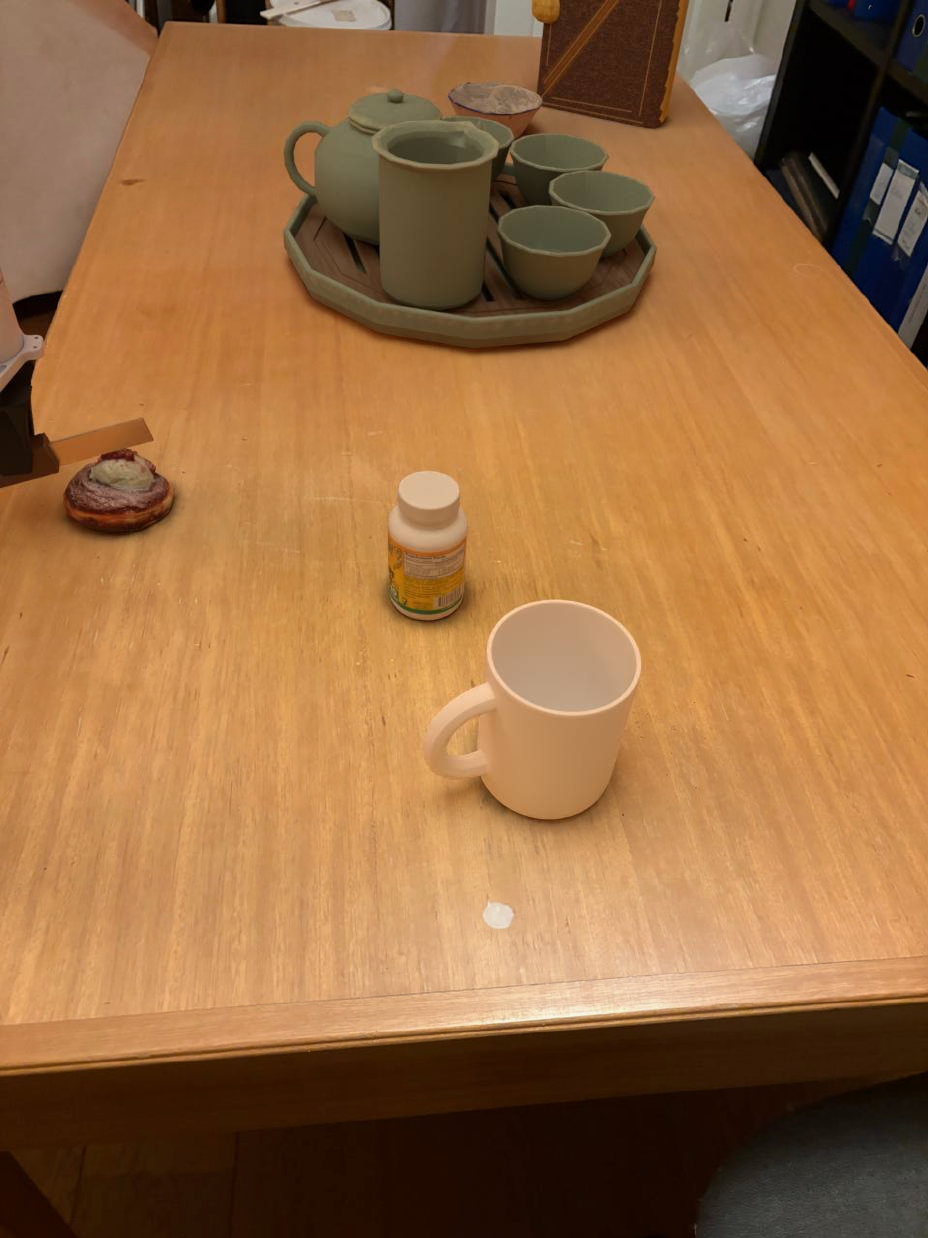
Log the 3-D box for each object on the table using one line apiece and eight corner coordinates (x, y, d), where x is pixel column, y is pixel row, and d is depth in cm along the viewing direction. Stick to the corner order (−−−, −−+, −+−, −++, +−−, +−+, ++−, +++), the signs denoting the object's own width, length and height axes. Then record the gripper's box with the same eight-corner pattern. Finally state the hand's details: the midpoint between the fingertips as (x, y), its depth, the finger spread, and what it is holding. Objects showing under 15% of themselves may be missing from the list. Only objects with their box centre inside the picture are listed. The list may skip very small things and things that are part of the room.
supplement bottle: (457, 627, 64) (463, 521, 57) (381, 616, 65) (378, 510, 58) (468, 575, 68) (476, 469, 61) (396, 565, 68) (396, 458, 62)
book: (671, 115, 140) (712, -91, 122) (655, 132, 135) (694, -82, 117) (536, 87, 146) (556, -114, 128) (515, 102, 140) (532, -105, 122)
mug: (445, 862, 52) (452, 754, 44) (398, 747, 57) (398, 633, 50) (634, 801, 55) (670, 691, 48) (574, 698, 61) (598, 585, 53)
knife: (-9, 491, 67) (-27, 465, 65) (-7, 476, 68) (-25, 450, 66) (154, 447, 67) (140, 420, 66) (153, 432, 69) (140, 406, 67)
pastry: (186, 481, 74) (175, 428, 70) (156, 543, 69) (142, 490, 65) (87, 471, 74) (72, 418, 71) (50, 533, 69) (30, 479, 65)
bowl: (430, 135, 129) (431, 97, 125) (472, 110, 137) (474, 73, 134) (515, 156, 125) (518, 117, 122) (552, 128, 133) (556, 91, 130)
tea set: (708, 334, 94) (752, 164, 83) (314, 369, 86) (300, 187, 74) (579, 179, 121) (598, 34, 109) (268, 195, 112) (252, 40, 101)
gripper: (13, 337, 53) (73, 520, 63) (30, 227, 63) (80, 401, 72) (-123, 347, 51) (-40, 532, 61) (-84, 233, 61) (-17, 409, 71)
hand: (18, 462), depth 67 cm, fingers closed on knife, 2 cm apart
